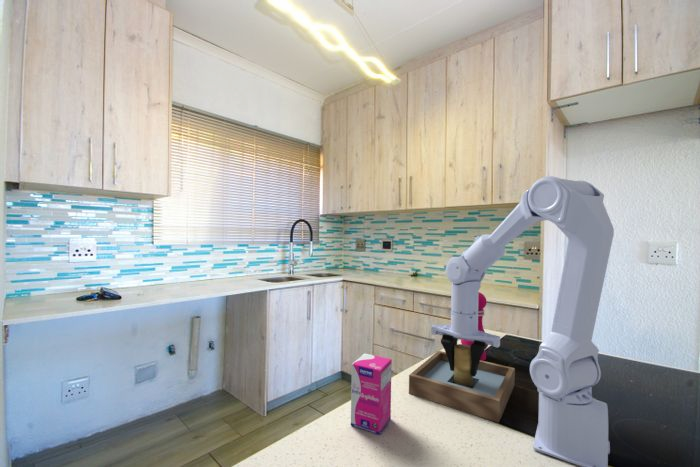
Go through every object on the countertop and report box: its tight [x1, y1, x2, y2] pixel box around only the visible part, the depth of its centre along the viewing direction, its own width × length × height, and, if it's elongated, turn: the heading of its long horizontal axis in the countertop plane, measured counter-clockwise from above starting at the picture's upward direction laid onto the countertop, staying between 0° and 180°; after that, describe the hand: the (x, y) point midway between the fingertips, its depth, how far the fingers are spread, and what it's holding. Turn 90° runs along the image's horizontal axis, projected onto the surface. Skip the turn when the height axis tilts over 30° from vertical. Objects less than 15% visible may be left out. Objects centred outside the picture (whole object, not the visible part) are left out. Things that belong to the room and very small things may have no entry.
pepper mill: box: [460, 291, 489, 361], centre depth 91 cm, size 7×7×20 cm
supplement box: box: [350, 353, 393, 435], centre depth 59 cm, size 6×6×12 cm
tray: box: [408, 350, 516, 423], centre depth 72 cm, size 18×18×4 cm
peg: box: [454, 343, 473, 388], centre depth 72 cm, size 4×4×8 cm
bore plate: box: [423, 361, 505, 397], centre depth 72 cm, size 16×16×2 cm
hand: (463, 371), depth 72 cm, fingers closed on peg, 4 cm apart
